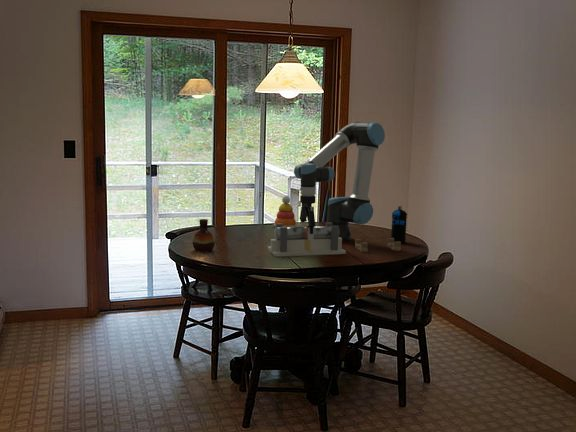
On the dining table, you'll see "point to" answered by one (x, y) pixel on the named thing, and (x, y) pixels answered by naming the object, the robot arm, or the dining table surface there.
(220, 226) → the dining table surface
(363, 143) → the robot arm
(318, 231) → the tube
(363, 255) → the dining table surface
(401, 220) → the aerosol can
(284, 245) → the white cradle stand
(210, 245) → the vase
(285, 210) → the stacking toy
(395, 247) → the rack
